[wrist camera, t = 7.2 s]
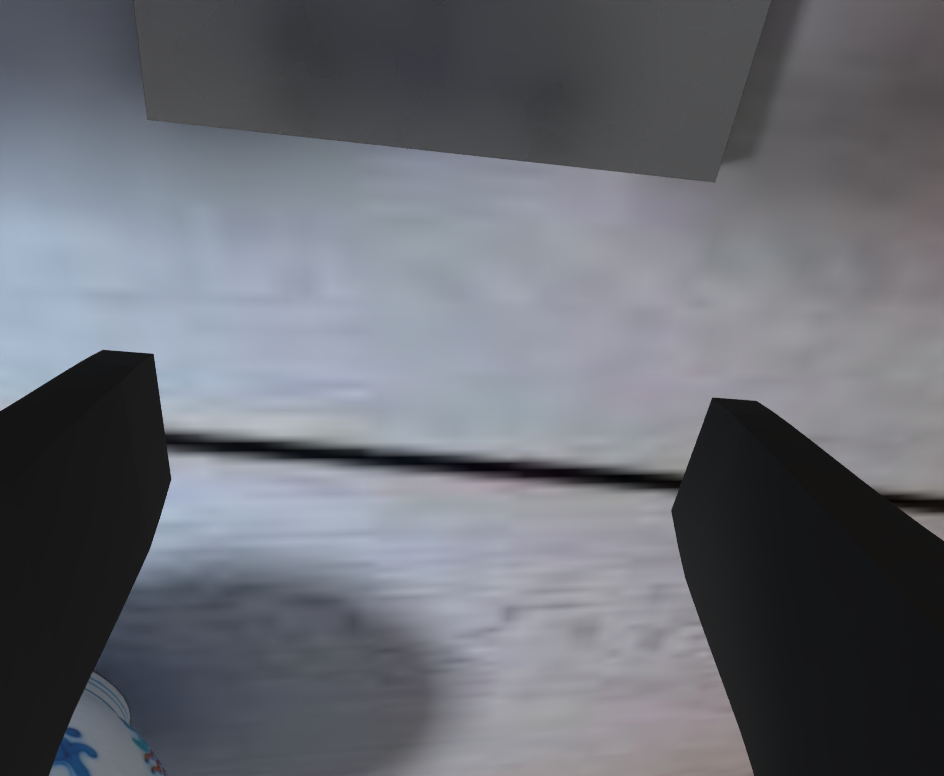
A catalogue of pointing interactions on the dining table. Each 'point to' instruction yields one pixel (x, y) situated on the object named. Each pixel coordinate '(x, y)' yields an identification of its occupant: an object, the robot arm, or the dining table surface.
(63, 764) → the chinaware
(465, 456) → the dining table surface
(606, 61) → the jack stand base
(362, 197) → the dining table surface
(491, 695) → the dining table surface
